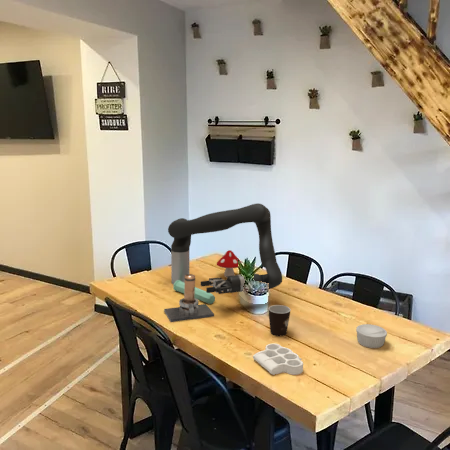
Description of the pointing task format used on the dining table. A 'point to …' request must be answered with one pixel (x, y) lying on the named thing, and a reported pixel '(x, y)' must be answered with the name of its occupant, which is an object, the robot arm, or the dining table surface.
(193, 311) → the stove plate
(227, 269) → the decorative mushroom
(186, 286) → the metal tube
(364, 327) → the ramekin
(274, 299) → the dining table surface
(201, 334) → the dining table surface
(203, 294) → the container
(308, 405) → the dining table surface
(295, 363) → the grey compartment tray
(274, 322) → the coffee mug
